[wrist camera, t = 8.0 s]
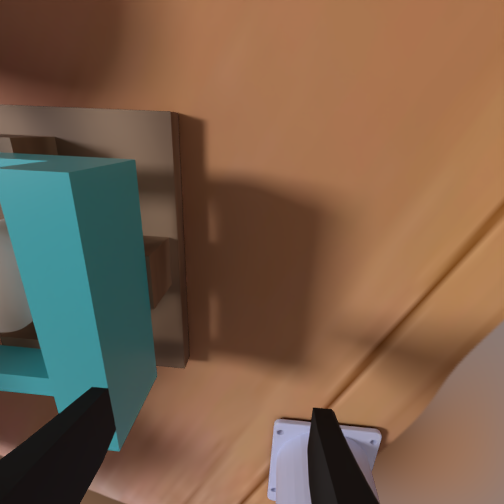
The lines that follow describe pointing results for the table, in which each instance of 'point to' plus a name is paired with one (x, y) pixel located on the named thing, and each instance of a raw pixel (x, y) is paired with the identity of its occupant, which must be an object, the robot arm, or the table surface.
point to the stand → (151, 206)
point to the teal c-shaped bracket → (80, 281)
